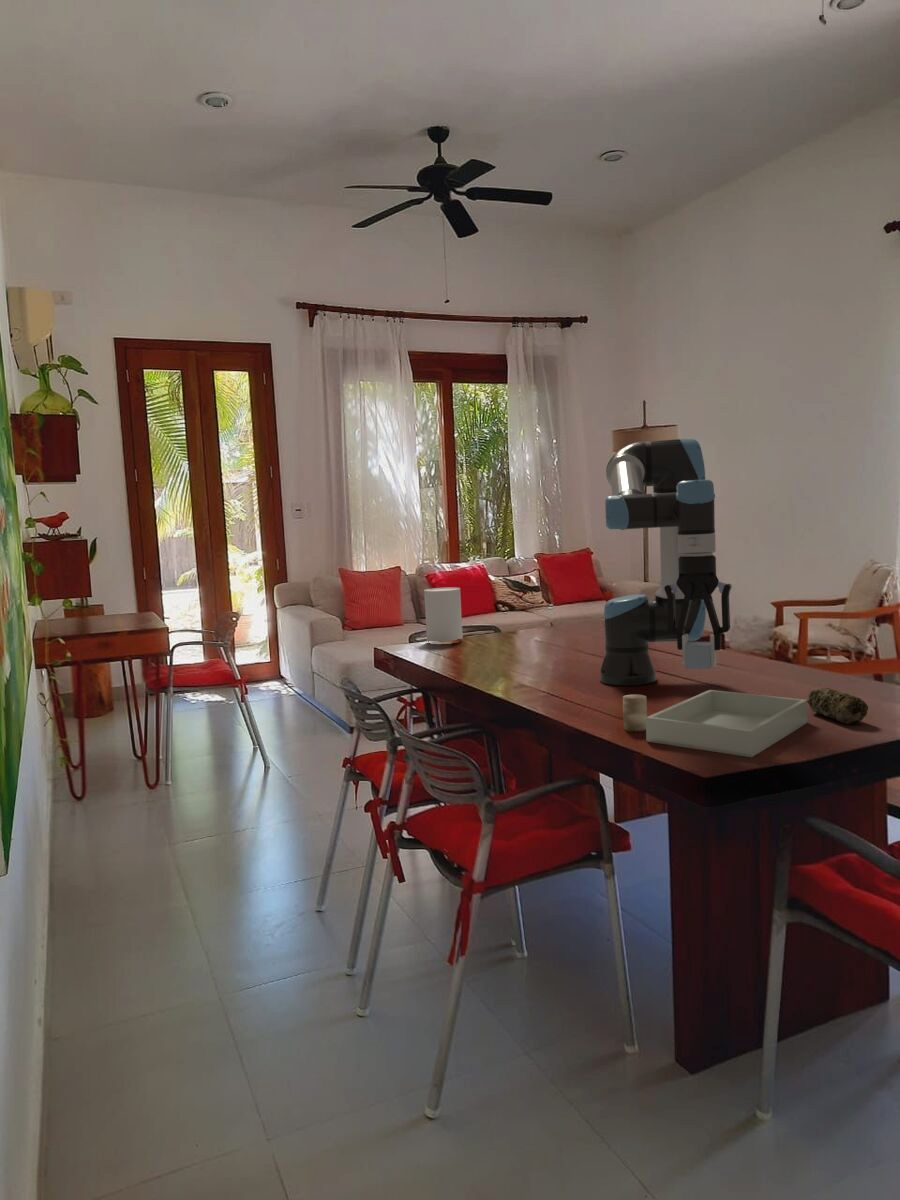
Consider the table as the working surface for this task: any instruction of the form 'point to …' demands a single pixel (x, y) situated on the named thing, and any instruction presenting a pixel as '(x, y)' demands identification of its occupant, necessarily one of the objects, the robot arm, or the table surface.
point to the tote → (727, 722)
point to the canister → (443, 614)
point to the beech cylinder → (634, 712)
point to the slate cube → (697, 655)
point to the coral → (837, 705)
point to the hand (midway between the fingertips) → (699, 665)
